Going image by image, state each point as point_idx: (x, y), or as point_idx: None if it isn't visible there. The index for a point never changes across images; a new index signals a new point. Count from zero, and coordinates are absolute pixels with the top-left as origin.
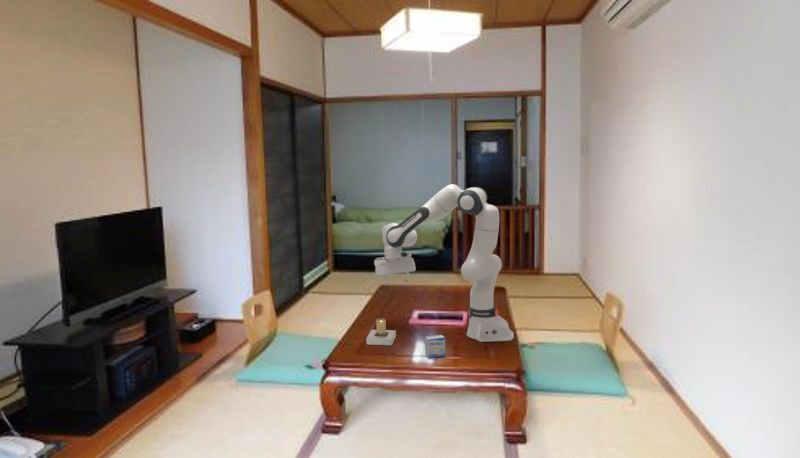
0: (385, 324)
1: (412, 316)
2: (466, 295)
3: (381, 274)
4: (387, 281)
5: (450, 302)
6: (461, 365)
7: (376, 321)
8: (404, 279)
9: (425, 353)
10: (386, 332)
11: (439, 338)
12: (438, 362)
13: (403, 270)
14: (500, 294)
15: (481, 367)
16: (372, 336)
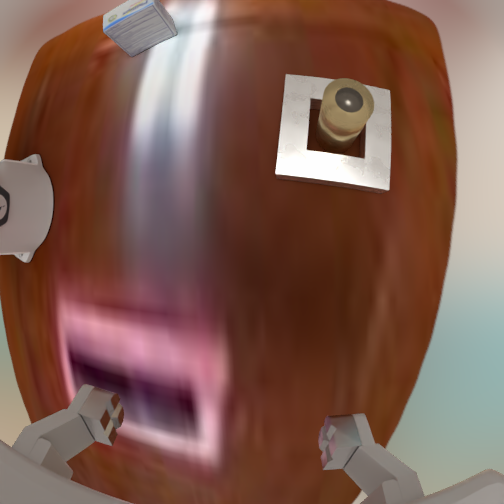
0: (321, 103)
1: (217, 413)
2: None
3: (455, 494)
4: (352, 435)
5: (125, 479)
6: None
7: (370, 95)
8: (105, 409)
9: (175, 30)
10: (317, 151)
11: (117, 7)
12: None
13: (39, 491)
14: None
15: (82, 22)
16: None
